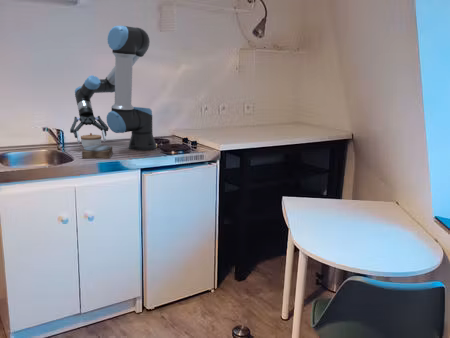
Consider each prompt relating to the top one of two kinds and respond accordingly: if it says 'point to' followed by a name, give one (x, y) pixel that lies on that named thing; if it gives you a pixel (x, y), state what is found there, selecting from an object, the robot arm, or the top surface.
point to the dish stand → (97, 151)
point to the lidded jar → (90, 140)
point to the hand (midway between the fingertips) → (92, 141)
